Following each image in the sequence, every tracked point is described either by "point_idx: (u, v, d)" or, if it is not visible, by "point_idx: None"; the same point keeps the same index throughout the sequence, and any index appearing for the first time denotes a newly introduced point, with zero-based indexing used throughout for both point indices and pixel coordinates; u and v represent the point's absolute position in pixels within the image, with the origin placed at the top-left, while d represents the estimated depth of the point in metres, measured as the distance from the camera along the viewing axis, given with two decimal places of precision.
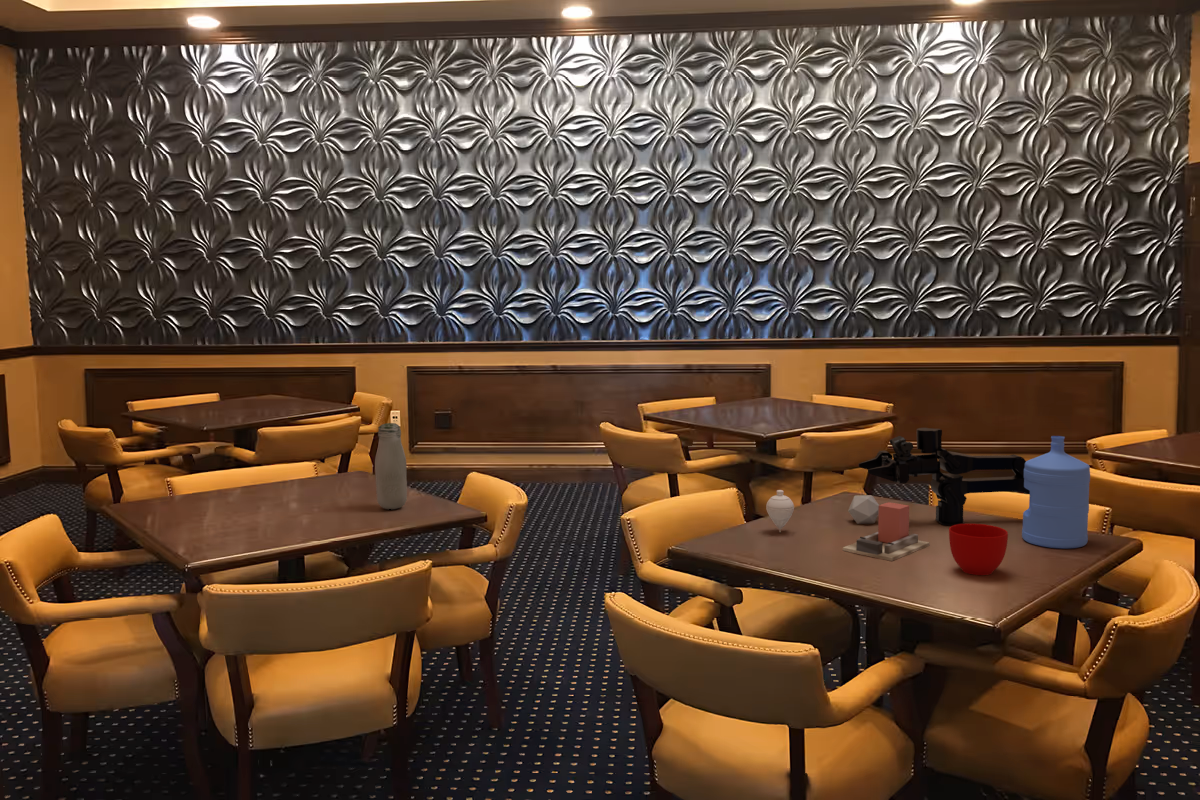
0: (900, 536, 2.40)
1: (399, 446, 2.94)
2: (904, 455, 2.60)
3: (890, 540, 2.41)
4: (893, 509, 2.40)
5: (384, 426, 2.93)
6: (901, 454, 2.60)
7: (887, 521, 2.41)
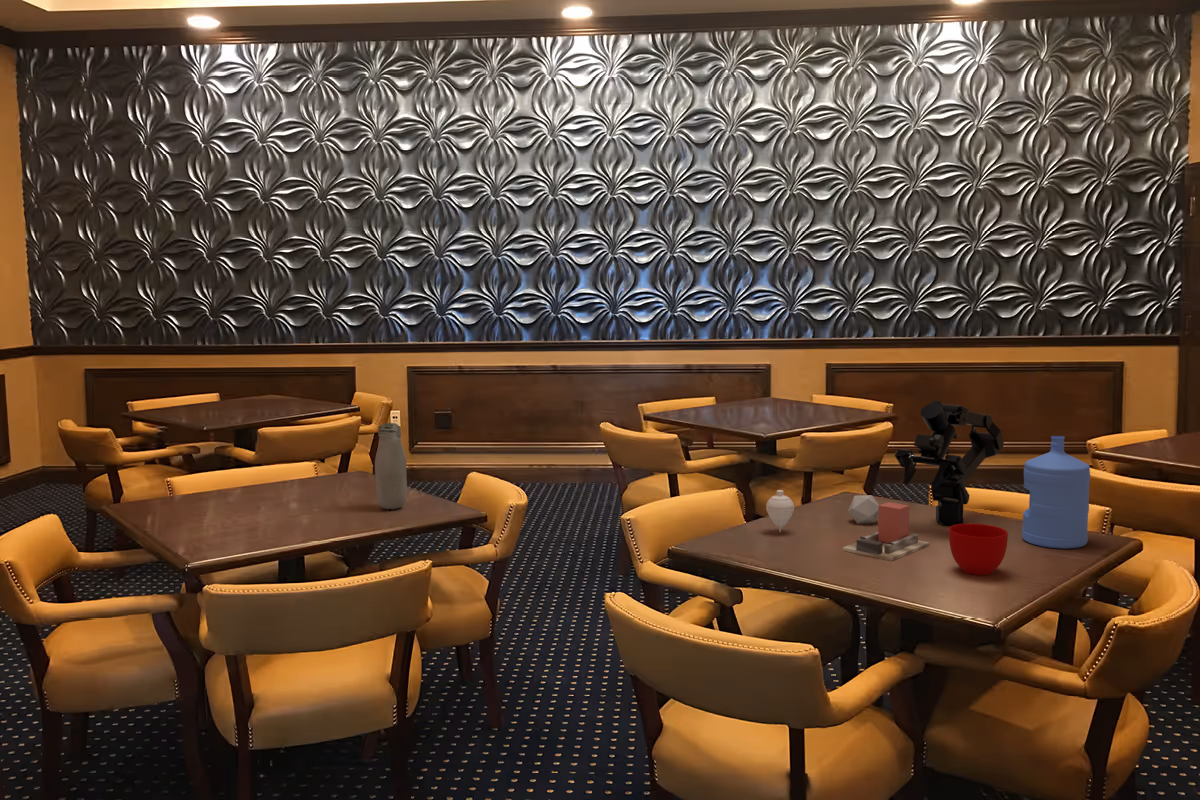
0: (900, 536, 2.40)
1: (399, 446, 2.94)
2: (938, 447, 2.52)
3: (890, 540, 2.41)
4: (893, 509, 2.40)
5: (384, 426, 2.93)
6: (935, 449, 2.52)
7: (887, 521, 2.41)
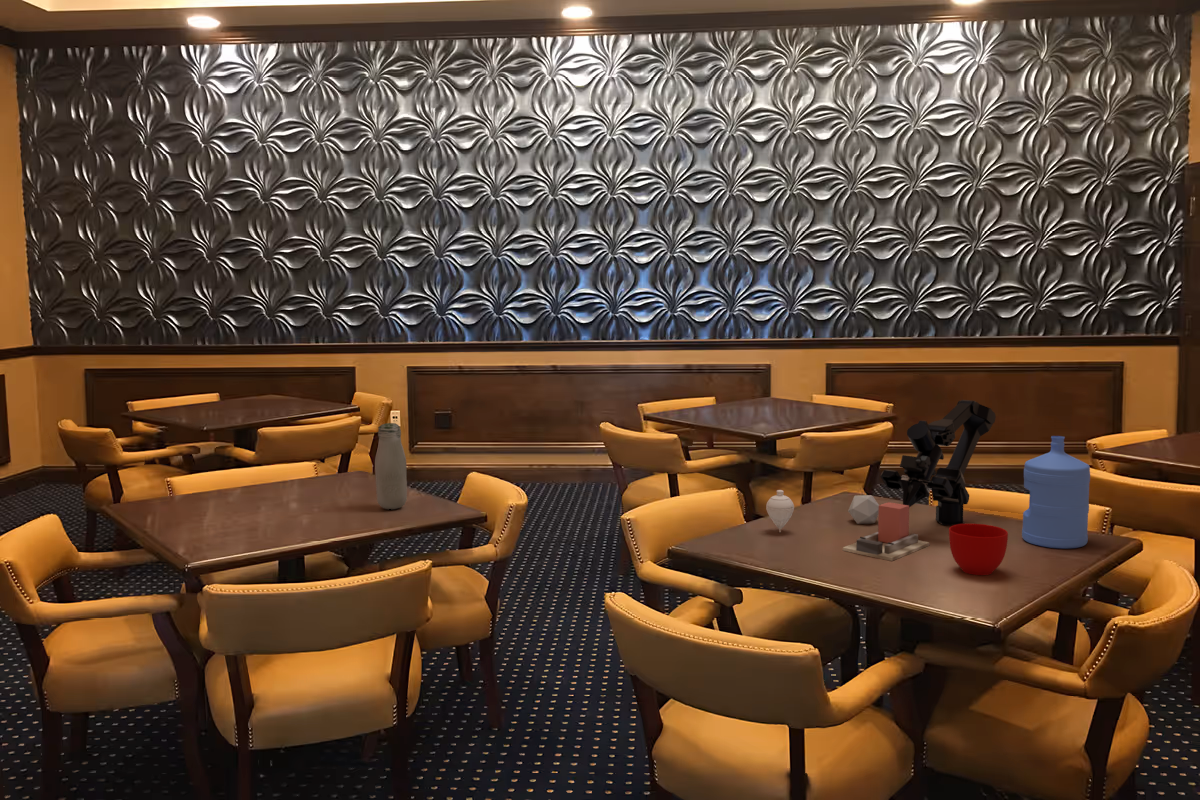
0: (900, 536, 2.40)
1: (399, 446, 2.94)
2: (924, 469, 2.47)
3: (890, 540, 2.41)
4: (893, 509, 2.40)
5: (384, 426, 2.93)
6: (922, 470, 2.47)
7: (887, 521, 2.41)
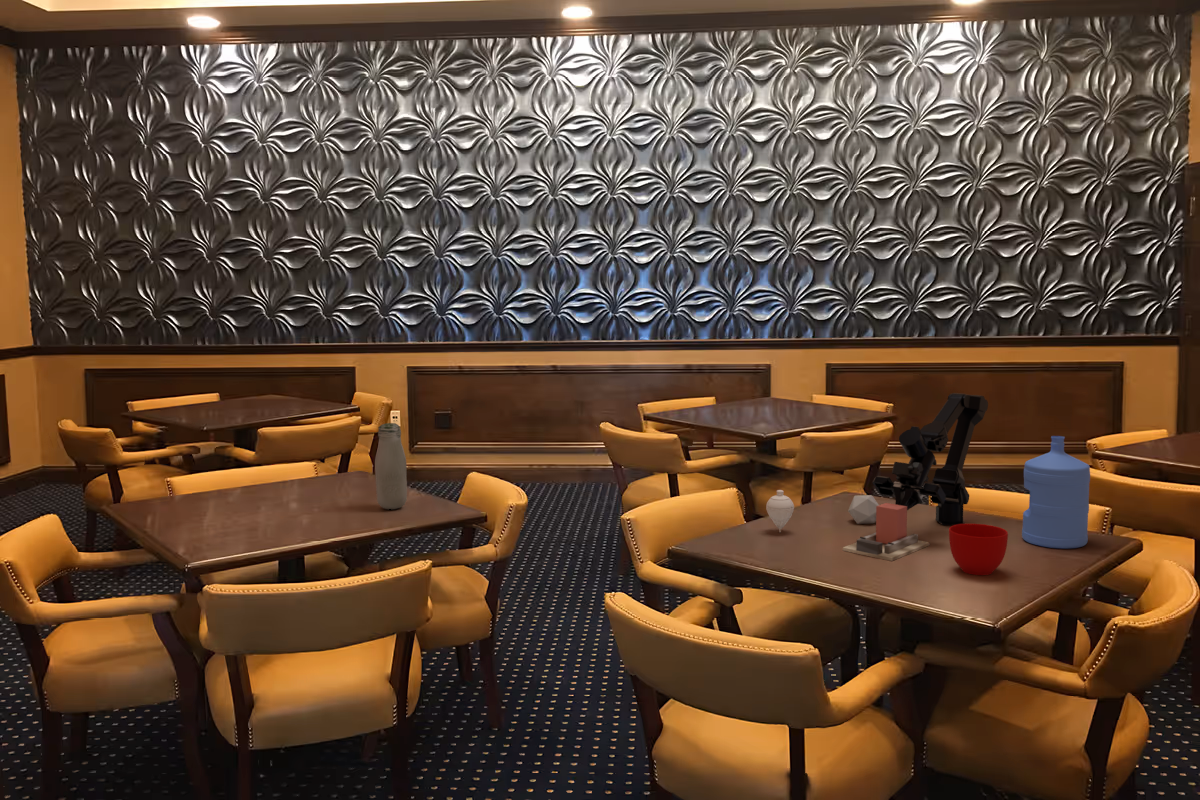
0: (898, 537, 2.39)
1: (399, 446, 2.94)
2: (917, 475, 2.44)
3: (888, 541, 2.40)
4: (891, 510, 2.39)
5: (384, 426, 2.93)
6: (914, 477, 2.44)
7: (885, 522, 2.40)
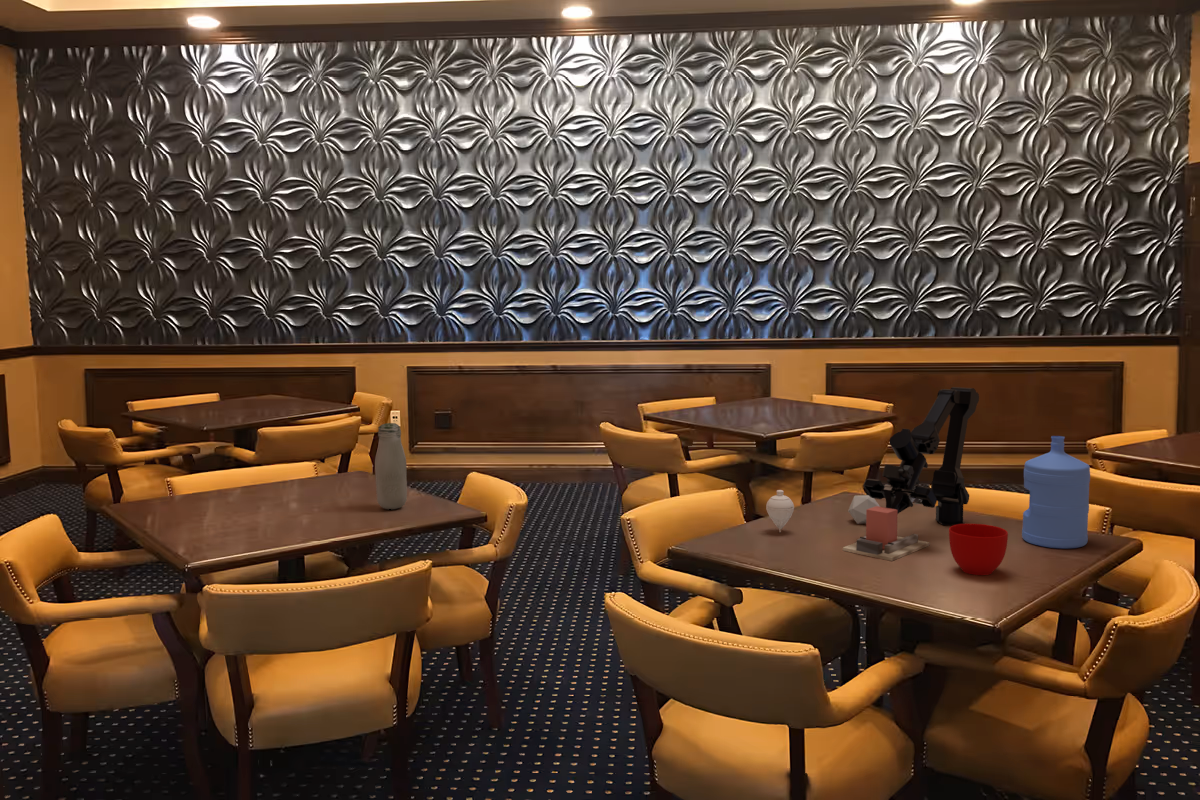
0: (888, 541, 2.36)
1: (399, 446, 2.94)
2: (907, 478, 2.41)
3: None
4: (881, 513, 2.36)
5: (384, 426, 2.93)
6: (905, 480, 2.41)
7: (875, 525, 2.37)
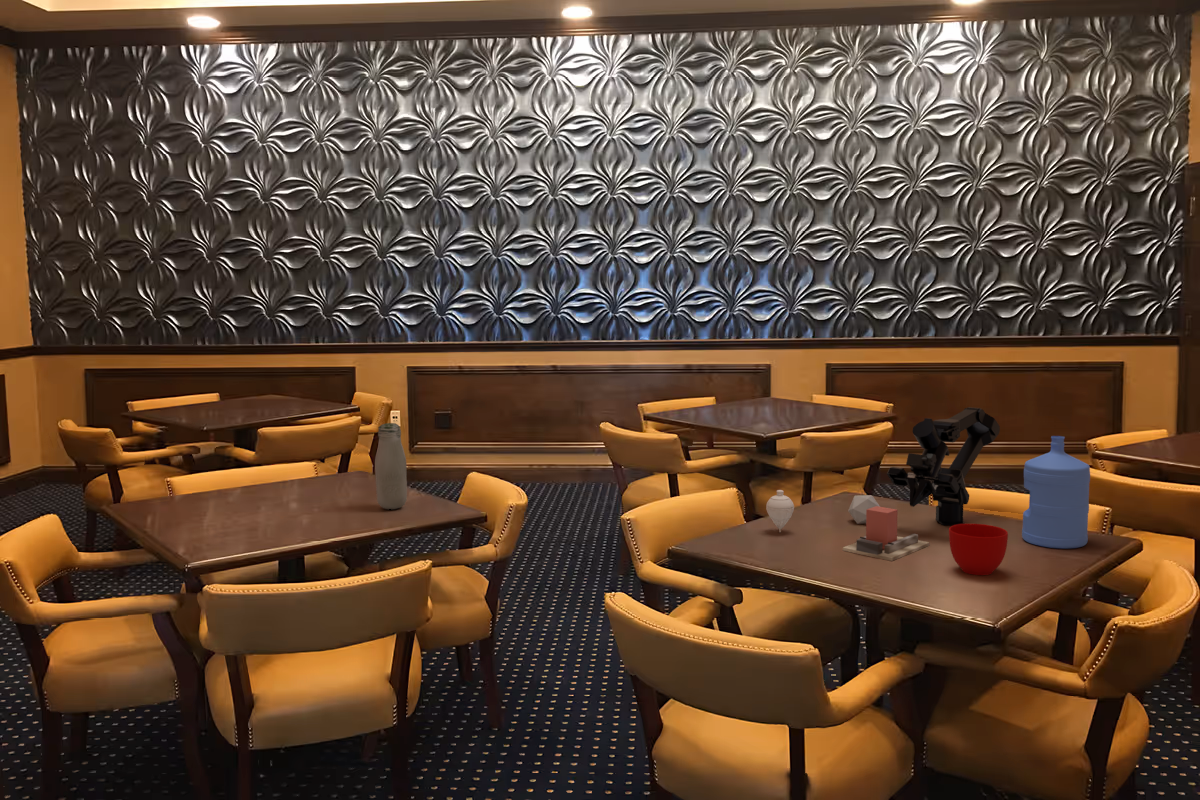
0: (888, 541, 2.36)
1: (399, 446, 2.94)
2: (931, 466, 2.49)
3: None
4: (881, 513, 2.36)
5: (384, 426, 2.93)
6: (928, 467, 2.49)
7: (875, 525, 2.37)
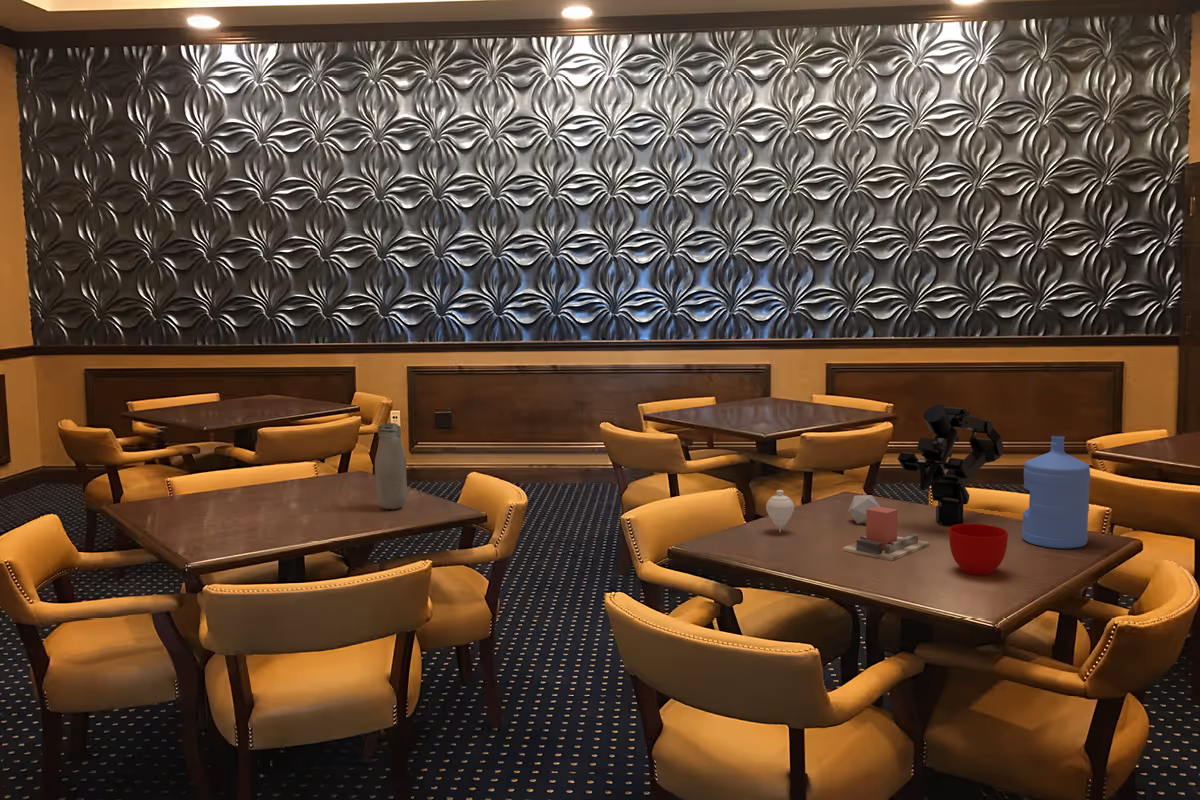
0: (888, 541, 2.36)
1: (399, 446, 2.94)
2: (941, 451, 2.53)
3: None
4: (881, 513, 2.36)
5: (384, 426, 2.93)
6: (938, 452, 2.52)
7: (875, 525, 2.37)
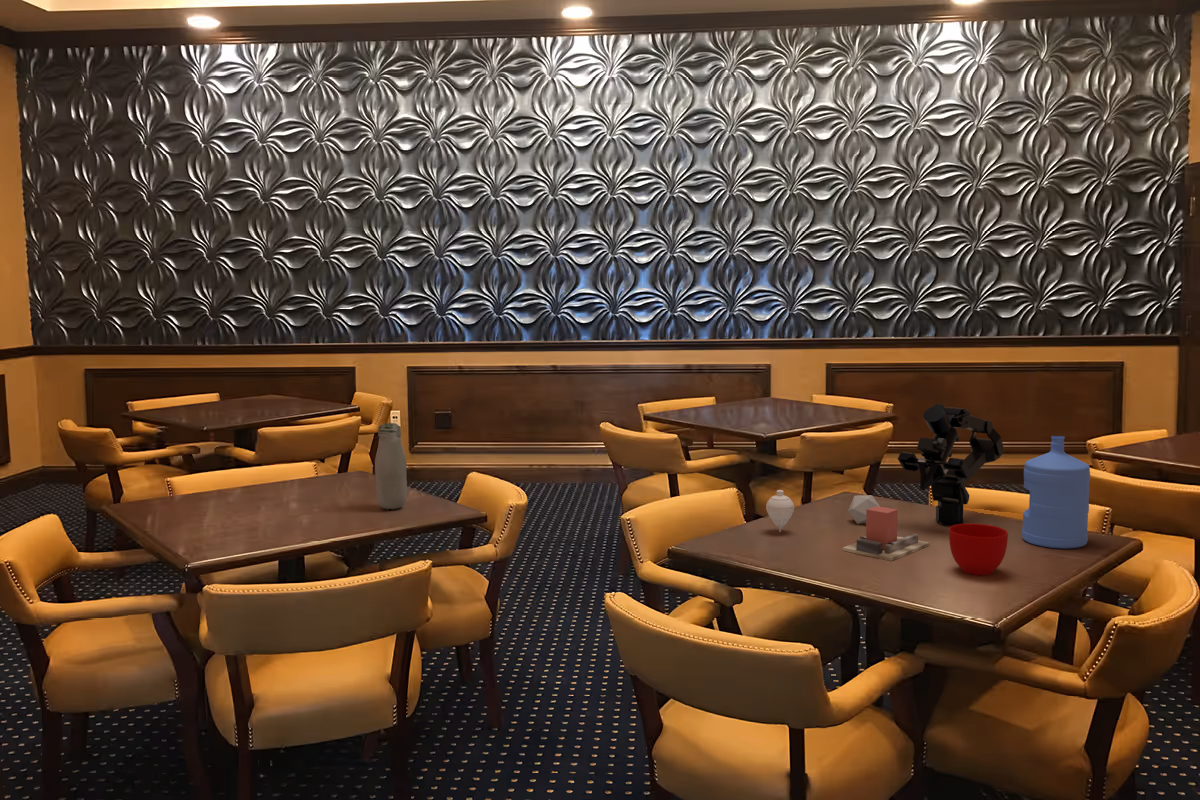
0: (888, 541, 2.36)
1: (399, 446, 2.94)
2: (941, 451, 2.53)
3: None
4: (881, 513, 2.36)
5: (384, 426, 2.93)
6: (938, 452, 2.52)
7: (875, 525, 2.37)
